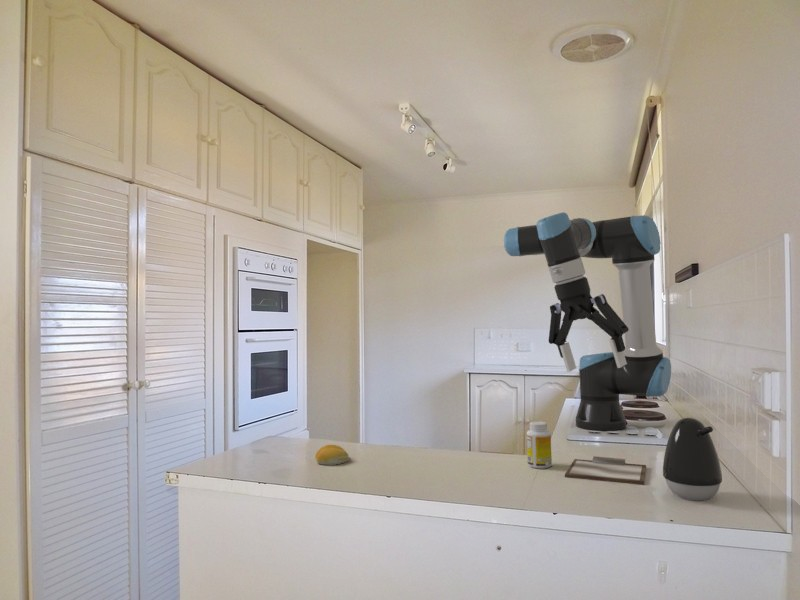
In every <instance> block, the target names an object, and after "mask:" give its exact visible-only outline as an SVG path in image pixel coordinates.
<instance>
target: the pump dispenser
mask: <svg viewBox="0 0 800 600" xmlns="http://www.w3.org/2000/svg"><path fill="white" fill-rule="evenodd" d="M713 431H714V428H713V427H712V426H710V425H709V426H705V425H704V424H703V423H702V422H701V421H700V420H698V419H696V418H692V417H684V418H681V419H680V420H678V421H677V422H676V423H675V425H674V426H673V428H672V430H671V432H670V435H669V436H668V439H667V442H666V443H667V444H666V446H665V451H664V457H663V462H662V463H663V464H662V465H663V466H662V476H663V478H664V480H665V483H666V485H667V487H668V489H669V490H670V491H671V492H672V494H674V495H675V496H677V497H679V498H682V499H684V500H688V501H695V502H696V501H697V502H699V501H701V502H703V501H707V500H710V499H711V498H713V497H714V496H716V494H717V493H718V491H719V489H720V486H721V484H722V482H723V474H722V467H721V463H720V459H719V455H718V453H717V450H716V447H715V444H714V441H713V438H712V437H711V433H712V432H713Z"/></svg>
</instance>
